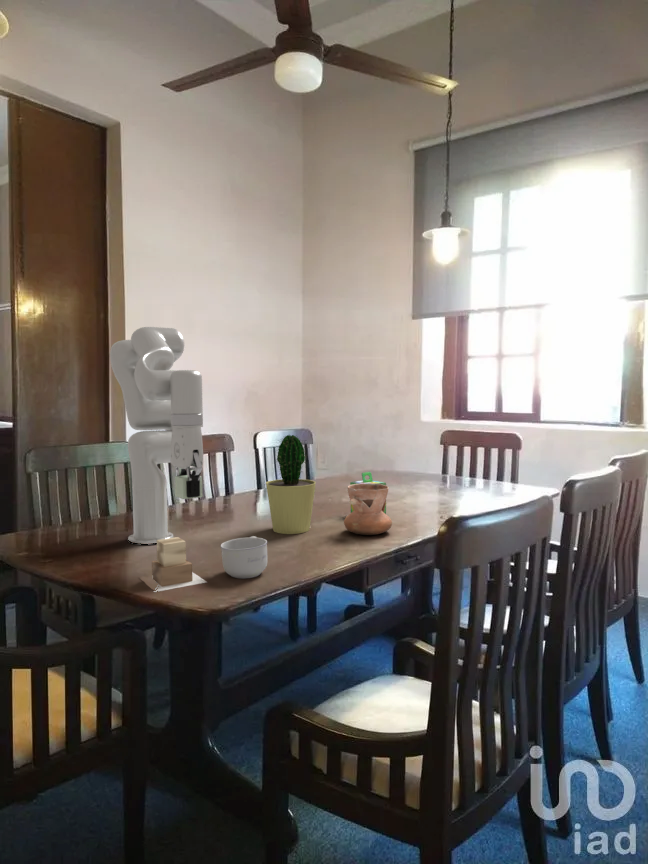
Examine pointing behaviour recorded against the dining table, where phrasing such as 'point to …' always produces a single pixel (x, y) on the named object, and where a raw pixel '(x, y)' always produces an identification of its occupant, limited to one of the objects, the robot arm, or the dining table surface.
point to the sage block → (184, 487)
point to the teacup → (244, 556)
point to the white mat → (195, 579)
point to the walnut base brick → (171, 573)
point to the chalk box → (367, 482)
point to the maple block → (171, 551)
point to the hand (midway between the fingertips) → (188, 494)
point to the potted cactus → (291, 490)
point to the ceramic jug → (368, 509)
